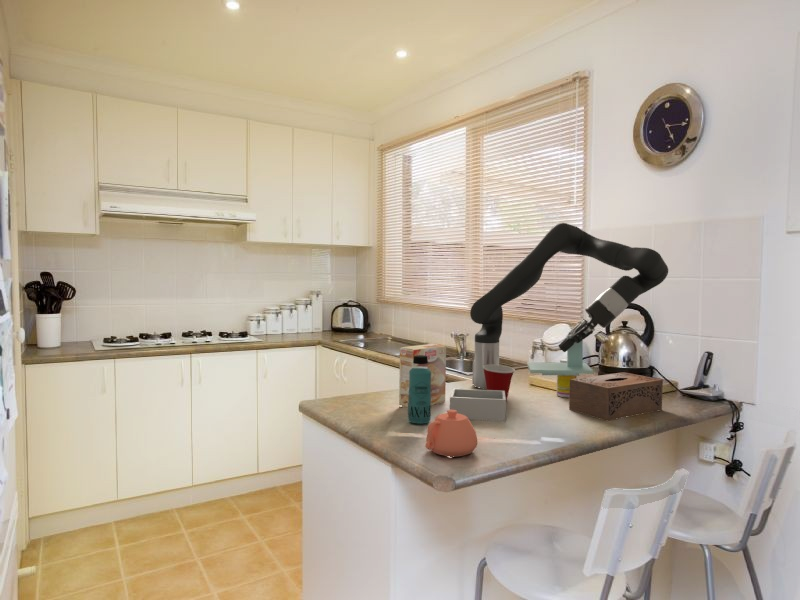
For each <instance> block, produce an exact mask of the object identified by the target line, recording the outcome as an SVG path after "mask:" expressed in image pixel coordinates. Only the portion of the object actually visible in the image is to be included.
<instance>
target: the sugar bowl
mask: <svg viewBox="0 0 800 600" xmlns="http://www.w3.org/2000/svg"><path fill="white" fill-rule="evenodd" d="M426 432H427V434H426V439H425V440H426V441H425V448H426V449H427V450H430V451H432V452H433V453H434V454H437V455H440V456H444V457H447V456H450V457H453V456H455V457H462V456H467V455H469V454H471V453H472V452H473V451H475V450H476V448H477V446H478V436H477V432H476V429H475V428H474V426H473V424H472V422H471V421H470V420H469V419H468V418H467V417H466V416H465V415H462V414H458V413H457V411H456V410H450V409H447V411H446V412H444V413H440V414H437V416H436V417H434V420H433V421H431V422H429V424H428V425H427V431H426Z"/></svg>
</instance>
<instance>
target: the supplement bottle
mask: <svg viewBox="0 0 800 600" xmlns="http://www.w3.org/2000/svg"><path fill="white" fill-rule="evenodd" d="M559 363H567V358H562V359H559ZM576 378H577V376H571V375H556V396H558V397H560V398H565V399H566V398H567V399H570V379H576Z"/></svg>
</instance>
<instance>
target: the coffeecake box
mask: <svg viewBox="0 0 800 600" xmlns="http://www.w3.org/2000/svg"><path fill="white" fill-rule="evenodd" d="M416 355H425V356H427V358H428V363H427V364H414V363H413V360H414V356H416ZM413 367H427V368H429V369H430V371H431V406H433V405H436V404H441V403H445V402H446V382H447V381H446V379H447V378H446V377H447V374H446V373H447V346H446V345H443V344H436V343H429V344H419V345H410V346H409V345H408V346H402V347H399V386H398V388H399V389H398V391H399V392H398V393H399V394H398V396H399V397H398V398H399V399H398V402H399V403H398V406H399V405H402V406H403V407H404V406H405V407H404V408H408V404H409V400H408V396H409V393H408V392H409V371H410V370H411V369H412V368H413Z"/></svg>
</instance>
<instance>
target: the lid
mask: <svg viewBox="0 0 800 600" xmlns="http://www.w3.org/2000/svg"><path fill="white" fill-rule="evenodd" d="M569 336H571V335H568V334H567V335H566V338H567V339H568V338H569ZM577 337H578V338H579V336H578V335H577ZM583 340H584V339H583ZM583 340H582V341H581V342H580V343H577V344H574V345H573V346H572V347H570V348H569V349H568V350H567V351H566V353H567V355H566V356H567V357H566V359H567V363H560V362H542V361H541V362H540V361H539V362H537V361H536V362H534V361H530V362H529V361H528V362H526V365H527V368H528V371H529V373H530V374H542V376H557V375H571V376H576V377H577V376H580V374H582V375H583V374H585V375H587V374H591V375H592V374H593V375H594V372H595V371H594V369H592V367H590V366H589V365H588V364H587V363H586V362H583V358H584V357H583V356H584V354H583V350H584V349H583V346H584V345H583V343H584V342H583Z"/></svg>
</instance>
